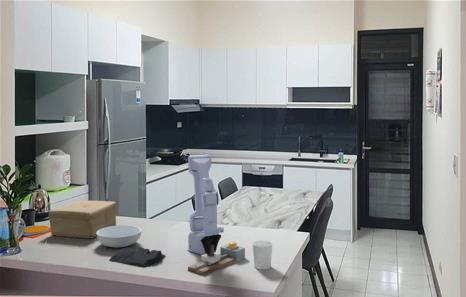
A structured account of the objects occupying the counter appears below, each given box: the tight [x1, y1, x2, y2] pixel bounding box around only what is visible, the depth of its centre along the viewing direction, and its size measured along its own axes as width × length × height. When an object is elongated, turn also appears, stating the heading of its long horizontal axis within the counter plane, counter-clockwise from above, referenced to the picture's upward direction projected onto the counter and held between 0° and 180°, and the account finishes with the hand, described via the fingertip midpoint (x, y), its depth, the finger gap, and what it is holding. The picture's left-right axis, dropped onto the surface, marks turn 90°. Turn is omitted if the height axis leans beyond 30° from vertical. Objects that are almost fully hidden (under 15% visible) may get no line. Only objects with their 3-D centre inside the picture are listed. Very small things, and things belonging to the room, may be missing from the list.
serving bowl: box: [96, 224, 142, 249], centre depth 226 cm, size 21×21×7 cm
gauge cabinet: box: [219, 244, 246, 262], centre depth 206 cm, size 9×6×4 cm, turn 50°
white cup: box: [252, 240, 273, 271], centre depth 194 cm, size 8×8×10 cm
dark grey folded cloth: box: [108, 247, 166, 268], centre depth 206 cm, size 15×22×5 cm
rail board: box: [187, 253, 236, 276], centre depth 197 cm, size 9×20×2 cm, turn 140°
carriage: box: [200, 244, 220, 265], centre depth 195 cm, size 6×5×8 cm
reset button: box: [227, 241, 238, 250], centre depth 206 cm, size 4×4×4 cm
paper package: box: [48, 199, 117, 239], centre depth 249 cm, size 27×26×14 cm
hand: (210, 252), depth 195 cm, fingers closed on carriage, 3 cm apart
